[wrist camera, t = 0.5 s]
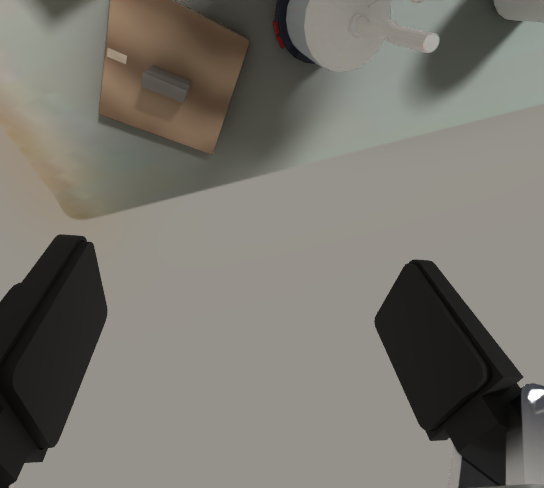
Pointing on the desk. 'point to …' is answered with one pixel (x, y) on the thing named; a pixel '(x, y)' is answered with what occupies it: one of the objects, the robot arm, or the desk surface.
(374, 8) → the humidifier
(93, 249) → the robot arm
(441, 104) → the desk surface
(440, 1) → the desk surface
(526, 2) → the can
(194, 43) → the stand
